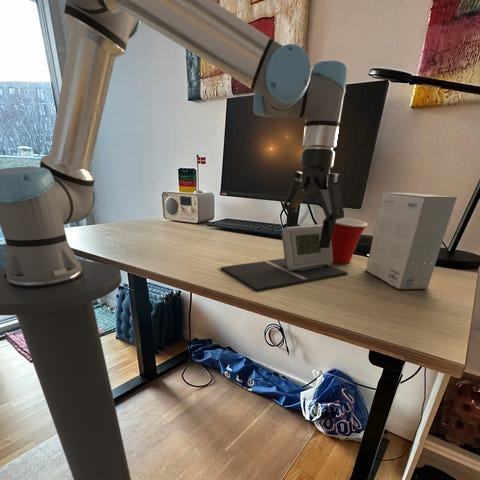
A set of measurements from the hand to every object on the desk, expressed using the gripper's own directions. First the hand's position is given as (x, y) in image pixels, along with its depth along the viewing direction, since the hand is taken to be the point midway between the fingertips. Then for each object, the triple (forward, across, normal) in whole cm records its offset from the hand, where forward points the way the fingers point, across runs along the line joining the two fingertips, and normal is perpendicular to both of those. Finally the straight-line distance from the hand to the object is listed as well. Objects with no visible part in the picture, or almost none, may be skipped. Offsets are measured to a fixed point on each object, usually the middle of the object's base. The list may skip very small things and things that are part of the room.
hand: (306, 241), depth 79 cm
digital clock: (+7, -1, 0) cm, 7 cm away
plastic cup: (+7, +1, -15) cm, 17 cm away
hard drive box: (+7, -17, -15) cm, 24 cm away
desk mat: (+7, 0, +7) cm, 10 cm away
